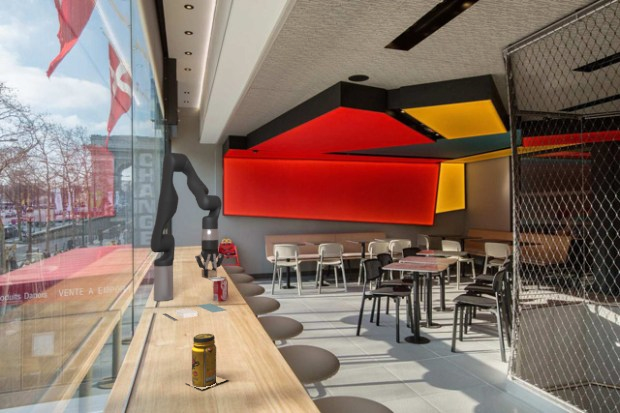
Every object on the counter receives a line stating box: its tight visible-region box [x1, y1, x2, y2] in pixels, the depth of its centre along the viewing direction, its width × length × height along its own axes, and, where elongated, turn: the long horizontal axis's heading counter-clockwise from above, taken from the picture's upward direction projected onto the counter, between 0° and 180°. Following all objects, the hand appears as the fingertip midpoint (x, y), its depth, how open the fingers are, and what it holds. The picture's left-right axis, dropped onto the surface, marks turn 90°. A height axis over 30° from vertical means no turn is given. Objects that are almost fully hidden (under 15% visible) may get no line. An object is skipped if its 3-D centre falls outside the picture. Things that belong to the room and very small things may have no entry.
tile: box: [175, 307, 199, 319], centre depth 176 cm, size 2×6×9 cm
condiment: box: [191, 333, 220, 387], centre depth 107 cm, size 7×8×12 cm
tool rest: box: [196, 303, 227, 313], centre depth 190 cm, size 18×7×1 cm, turn 38°
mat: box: [162, 313, 179, 322], centre depth 178 cm, size 15×14×1 cm
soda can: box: [212, 276, 229, 302], centre depth 207 cm, size 7×7×12 cm
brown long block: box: [201, 268, 224, 282], centre depth 190 cm, size 15×5×4 cm, turn 38°
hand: (209, 276), depth 191 cm, fingers closed on brown long block, 3 cm apart
